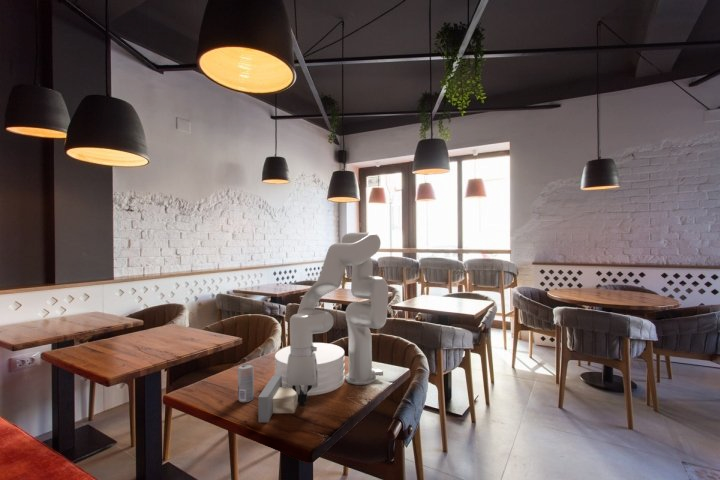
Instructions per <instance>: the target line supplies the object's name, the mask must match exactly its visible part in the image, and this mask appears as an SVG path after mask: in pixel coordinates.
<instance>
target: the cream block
mask: <svg viewBox="0 0 720 480" xmlns="http://www.w3.org/2000/svg"><path fill="white" fill-rule="evenodd" d="M298 405H299V402H298V394H297V393H296V392H295V391H294V390H293V389H291V388H287V387H279V389H278V391H277V392H276V394H275V396H274V397H273V414H295V412H296V409H297V407H298Z"/></svg>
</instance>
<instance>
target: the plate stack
mask: <svg viewBox="0 0 720 480" xmlns="http://www.w3.org/2000/svg"><path fill="white" fill-rule="evenodd" d="M313 346H314V347H317V351H315V352H313V353H315V355H316V361H317V372H318V378H317V382H318V386H317V387H316V388H311V389H310V390H309V391H308V392H307V397H310V396H317V395H323V394H326V393H330V392H333V391H335V390H338V389H339V388H340V387H341V386H343V384H344V383H345V382H346V380H345V376H346V374H345V373H346V372H345V371H346V370H345V366H346V364H345V361H346V359H345V358H346V357H345V350H344V348H343V347H341V346H339V345H336V344H333V343H327V342H313ZM289 354H290V345H289V346H286V347H283V348H281V349H280V350H278V351H277V352H275V354H274V365H275V367H274V375H282V387H286V385H287V363H288V356H289ZM301 390H302V391H303V390H304V385H301Z"/></svg>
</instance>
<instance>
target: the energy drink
mask: <svg viewBox="0 0 720 480" xmlns="http://www.w3.org/2000/svg"><path fill="white" fill-rule="evenodd" d="M254 374H255V372H254V365H253V364H251V363H243V364H241V365H238V369H237V389H238V391H237V393H238V395H237V396H238V397H237V398H238V401H239V402H240V403H248V402H251V401H253V399H254V398H255V387H254V386H255V384H254V379H255V378H254V376H255V375H254Z"/></svg>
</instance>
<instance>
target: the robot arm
mask: <svg viewBox="0 0 720 480" xmlns="http://www.w3.org/2000/svg"><path fill="white" fill-rule="evenodd" d="M380 248H381V239H380V237H379V235H378V234H377V233H374V232H348V233H346V234H344V235H343V236H342V238H341V242H339V243H337V242H336V243H333V244H331V245H330V246H329V247H328V250H327V253H326V255H325V258H324V262H323V264H322V268H321V270H320V273H319V276H318V279H317V280H316V282H314V283H313V284H312V285H311V287H310V288H309V289H308V290H307V291H306V292H305V293H304V295H303V296H302V298H301V301H300V304H299V306H298V310H297V313H295V314H294V313H293V315H291V316H290V317H289V341H290V342H289V346H290V354H289V356H288V363H287V385H286V387H287V388H291V389H293V390H294V391H295V392H296V393H297V394H298V405H299V407H305V405H306V404H307V403H308V396H307V392H308V391H309V390H310V389H311V388H316V387H317V386H318V382H317V378H318V372H317V361H316V355H315V353H313V352H315V351H317V347H314V346H313V343H314V342H313V334H314V335H315V334H323V333H327V332H329V330H331V329H332V327H333V326H334V322H335V318H334V317H333V315H332V314H331V313H330V312H329V311H325V310H320V309H315V308H316V306H317V304H318V303H319V301H320V300H321V298H323V297H324V296H326V295H327V294H329V293H331V292H333V291H335V290H338V289H339V288H340V287H341V284H342V282H343V278H344V274H345V272H346V268H347V266H349V267H351V268H352V270H351V283H350V285H351V286H350V288H351V289H350V291H351V295H352V296H353V297H355V298H357V299H363V300H370V302H365V301H352V302H351V303H349V304H348V305H347V307H346V309H345V321H346V324H347V333H348V341H347V342H348V373H346V374H345V382H347V383H349V384H351V385H356V386H362V385H365V386H366V385H369V384H372V383H374V382H375V381H376V380H377V376H384V370H381V369H380V368H373V367H374V365H373V354H372V353H373V352H372V351H373V349H372V348H373V345H372V344H373V343H372V337H373V336H372V333H371V330H370V329H375V330H376V329H377V330H378V329H382V328H383V327H384V326H385V324H386V323H387V318H388V305H389V285H388V282H387V280H386V279H385V278H384V277H382V276H377V275H376V276H375V275H374V276H373V274H374V273H373V272H374V270H373V268H374V265H373V263H374V262H373V261H372V260H373V259H372V257H373V256H374V255H376V254H377V252H378V251H379V250H380ZM301 385H304V390H303V391H302V390H301Z"/></svg>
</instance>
